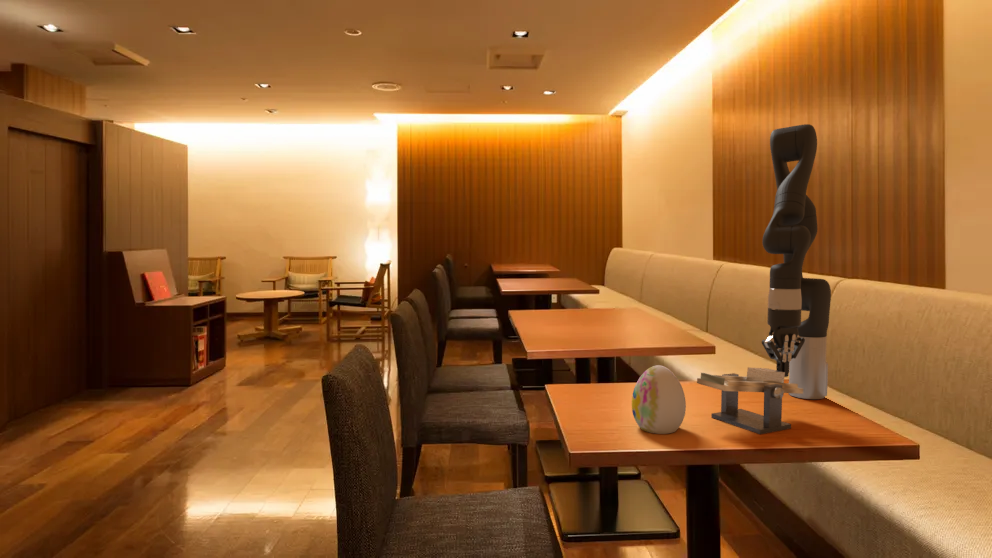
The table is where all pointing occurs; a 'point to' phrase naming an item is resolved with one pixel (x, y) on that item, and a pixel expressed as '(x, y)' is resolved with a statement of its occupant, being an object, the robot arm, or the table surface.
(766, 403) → the stand
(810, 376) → the robot arm
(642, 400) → the decorative egg
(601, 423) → the table surface
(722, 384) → the beam
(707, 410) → the table surface
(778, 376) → the rider
